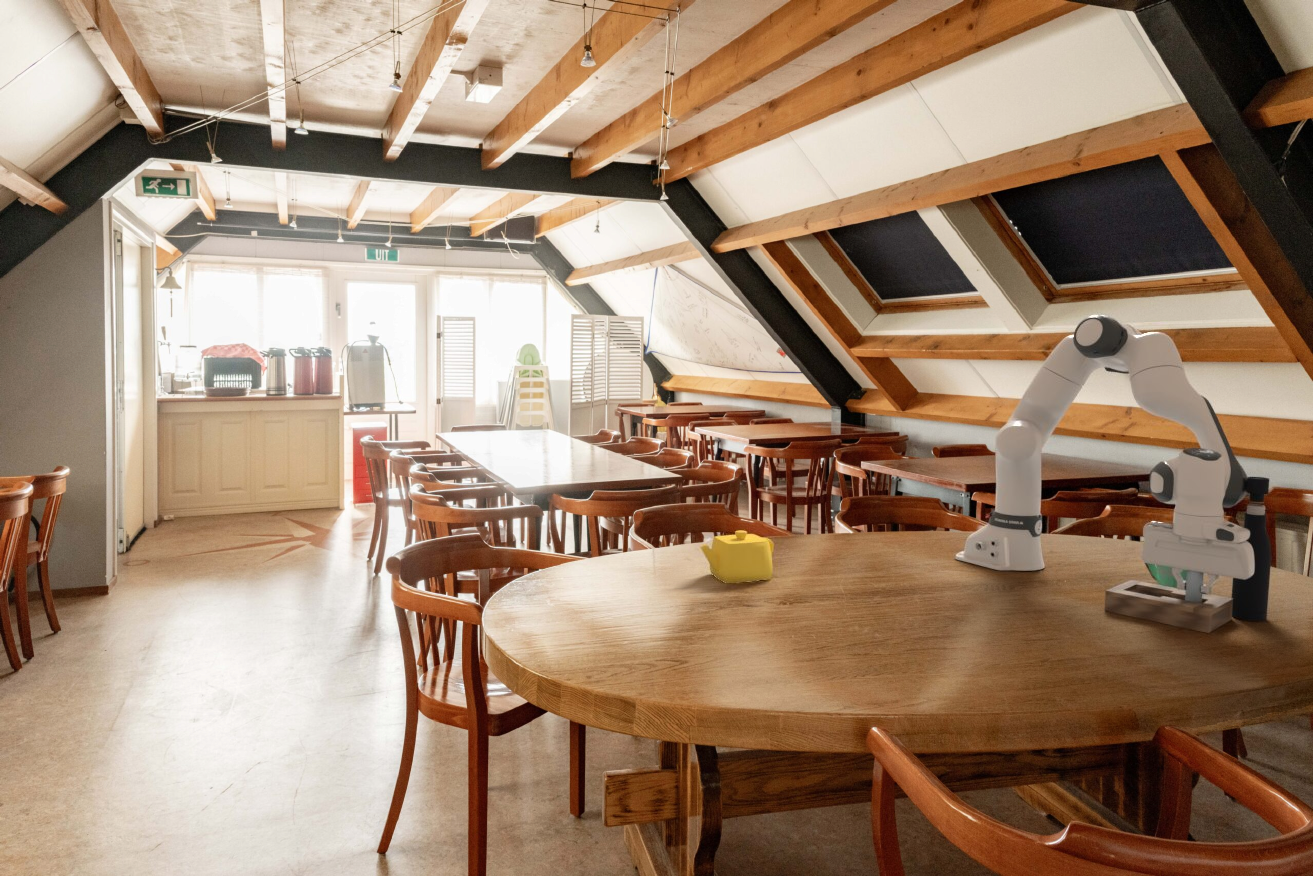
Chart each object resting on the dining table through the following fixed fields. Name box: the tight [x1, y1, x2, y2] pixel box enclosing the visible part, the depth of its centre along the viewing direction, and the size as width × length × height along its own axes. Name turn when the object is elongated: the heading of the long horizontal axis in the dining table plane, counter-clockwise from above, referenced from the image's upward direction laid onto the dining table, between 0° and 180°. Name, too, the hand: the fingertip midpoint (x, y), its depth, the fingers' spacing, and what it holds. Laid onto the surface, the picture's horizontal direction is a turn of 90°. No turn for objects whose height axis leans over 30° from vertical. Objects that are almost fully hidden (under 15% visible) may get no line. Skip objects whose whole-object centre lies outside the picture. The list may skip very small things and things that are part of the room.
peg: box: [1185, 570, 1205, 604], centre depth 178 cm, size 6×6×12 cm
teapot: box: [699, 530, 775, 584], centre depth 214 cm, size 20×12×12 cm, turn 109°
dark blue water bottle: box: [1231, 476, 1272, 623], centre depth 180 cm, size 6×6×30 cm
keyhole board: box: [1104, 579, 1233, 634], centre depth 182 cm, size 20×14×4 cm
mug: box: [1144, 562, 1187, 588], centre depth 201 cm, size 15×10×10 cm
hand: (1193, 591), depth 178 cm, fingers closed on peg, 3 cm apart
